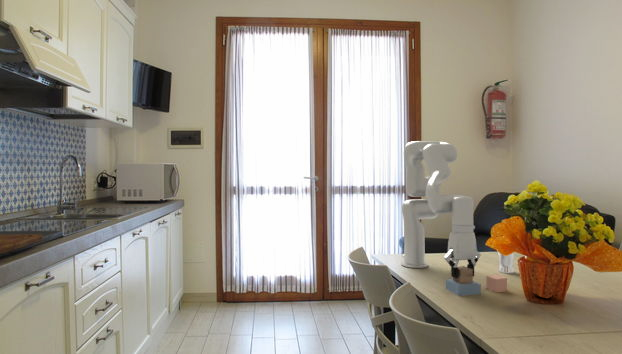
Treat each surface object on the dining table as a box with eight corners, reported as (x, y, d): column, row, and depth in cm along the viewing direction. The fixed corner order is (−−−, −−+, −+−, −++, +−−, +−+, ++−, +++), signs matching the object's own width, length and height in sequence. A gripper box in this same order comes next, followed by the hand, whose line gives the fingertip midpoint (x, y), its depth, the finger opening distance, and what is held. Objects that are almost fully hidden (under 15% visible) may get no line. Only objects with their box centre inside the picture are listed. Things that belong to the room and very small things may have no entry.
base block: (445, 289, 155) (445, 279, 154) (467, 288, 156) (467, 277, 156) (458, 296, 146) (458, 285, 146) (480, 295, 147) (480, 284, 147)
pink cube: (486, 288, 154) (486, 276, 154) (496, 287, 155) (496, 274, 155) (496, 292, 149) (496, 279, 149) (507, 291, 151) (507, 278, 150)
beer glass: (498, 273, 177) (497, 239, 176) (497, 269, 183) (497, 236, 183) (515, 274, 174) (515, 239, 174) (514, 270, 181) (514, 237, 180)
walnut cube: (452, 280, 153) (452, 267, 153) (463, 279, 154) (463, 266, 154) (461, 283, 148) (461, 270, 148) (472, 282, 149) (472, 269, 149)
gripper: (474, 226, 157) (474, 272, 157) (436, 229, 151) (437, 276, 152) (488, 229, 150) (488, 276, 150) (449, 231, 144) (449, 281, 145)
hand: (462, 276), depth 151 cm, fingers open, 6 cm apart
